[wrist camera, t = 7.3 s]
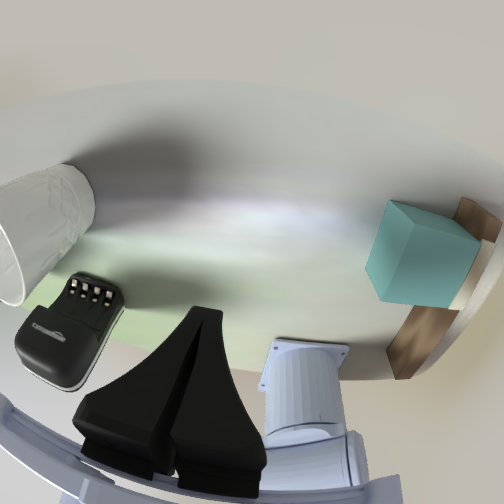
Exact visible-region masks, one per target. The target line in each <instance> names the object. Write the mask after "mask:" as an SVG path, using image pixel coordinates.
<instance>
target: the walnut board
mask: <svg viewBox="0 0 504 504" xmlns="http://www.w3.org/2000/svg"><path fill="white" fill-rule="evenodd" d="M454 221H456V222H457V223H458V224H459V225H460V226H462V227H463V228H464V229H465V230H466V231H468V232H469V233H470V234H471V235H472V236H473V237H475V238H476V239H477V240H478V241H479V242H480V243H481V246H480V248H479V250H478V253H477V255H476V257H475V259H474V261H473V263H472V265H471V267H470V269H469V271H468V273H467V275H466V277H465V279H464V281H463V283H462V285H461V287H460V289H459V290H458V292H457V294H456V296H455V298H454V299H453V301H452V303H451V304H450V306H449V308H440V307H429V306H419V305H414V307H413V309H412V310H411V312H410V314H409V316H408V317H407V319H406V321H405V322H404V324H403V326H402V327H401V329H400V331H399V332H398V334H397V335H396V337H395V339H394V340H393V342H392V343H391V345H390V346H389V348H388V349H387V351H386V353H387V356H388V359H389V362H390V365H391V368H392V371H393V374H394V377H395V380H400V379H410V378H411V377H412V376H413V375H414V374H415V372H416V371H417V370H418V369H419V368H420V366H421V365H422V364H423V363H424V361H425V360H426V359H427V357H428V356H429V355H430V353H431V352H432V351H433V349H434V348H435V347H436V345H437V344H438V343H439V341H440V340H441V338H442V337H443V335H444V334H445V333H446V331H447V330H448V328H449V327H450V325H451V324H452V322H453V321H454V319H455V317H456V316H457V314H458V313H459V311H460V310H463V308H464V306H465V305H466V303H467V301H468V299H469V298H470V296H471V294H472V292H473V291H474V289H475V287H476V285H477V283H478V281H479V280H480V278H481V276H482V274H483V272H484V270H485V268H486V266H487V264H488V262H489V259H490V257H491V255H492V253H493V251H494V248H495V246H496V244H495V241H496V239H497V236H498V234H499V231H500V229H501V226H502V224H503V222H502V221H500V220H499V219H498V218H496V217H495V216H494V215H492V214H491V213H489V212H488V211H486V210H485V209H484V208H482V207H481V206H479V205H478V204H476V203H474V202H472V201H469V200H467V199H465V198H461V201H460V204H459V207H458V210H457V213H456V216H455V218H454Z"/></svg>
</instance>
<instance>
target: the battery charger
mask: <svg viewBox="0 0 504 504" xmlns="http://www.w3.org/2000/svg"><path fill="white" fill-rule="evenodd" d="M124 308H125V304H124V302H123V297H122V294H121V292H120V290H119V289H118V288H117V287H115V286H113V285H111V284H108V283H105V282H102V281H99V280H96V279H93V278H90V277H87V276H84V275H81V274H73V275H72V276H71V277H70V278H69V280H68V281H67V283H66V285H65V287H64V289H63V291H62V293H61V294H60V296H59V297H58V298H57V299H56V300H55V302H54V303H53V304H52V305H51V306H50V307H49V308H45V307H43V306H41V305H38V306H37V307H36V308H35V309H34V310H33V311H32V313H31V314H30V315H29V316H28V318H27V319H26V320H25V322H24V323H23V325H22V326H21V327H20V329H19V330H18V332H17V334H16V336H15V349H16V351H17V353H18V355H19V357H20V358H21V362H22V364H23V365H24V367H25V368H26V369H27V370H28V371H29V372H31V373H32V374H33V375H35V376H36V377H38V378H39V379H41V380H43V381H44V382H46V383H48V384H50V385H52V386H54V387H56V388H58V389H60V390H62V391H65V392H75V391H78V390H79V389H80V388H81V387H82V386H83V385H84V383H85V382H86V380H87V379H88V377H89V375H90V373H91V371H92V370H93V368H94V366H95V364H96V362H97V360H98V358H99V356H100V354H101V352H102V350H103V348H104V346H105V344H106V342H107V340H108V338H109V336H110V334H111V332H112V330H113V328H114V326H115V325H116V323H117V321H118V319H119V318H120V316H121V315H122V313H123V312H124Z"/></svg>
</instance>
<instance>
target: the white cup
mask: <svg viewBox="0 0 504 504" xmlns="http://www.w3.org/2000/svg"><path fill="white" fill-rule="evenodd" d="M95 209H96V206H95V200H94V194H93V190H92V188H91V186H90V184H89V182H88V181H87V179H86V177H85V175H84V174H82V173H81V172H80V171H79V170H78V169H76V168H75V167H74V166H71V165H65V164H59V165H56V166H53V167H50V168H48V169H45V170H42V171H37V172H33V173H30V174H28V175H25V176H23V177H19V178H17V179H14V180H12V181H10V182H8V183H5V184H3V185H1V186H0V300H1V301H2V302H4V303H6V304H7V305H10V306H14V307H17V306H20V305H22V304H23V303H24V301H25V300H26V299H27V298H28V296H29V295H30V294H31V293H32V291H33V290H34V289H35V288H36V287H37V285H38V284H39V283H40V282H41V281H42V280H43V279H44V277H45V276H46V275H47V274H48V273H49V272H50V271H51V270H52V268H53V267H54V266H55V265H56V264H57V263H58V262H59V261H60V260H61V259H62V257H63V256H64V255H65V254H66V253H67V252H68V251H69V250H70V249H71V248H72V246H73V245H74V244H75V242H76V241H77V240H78V239H79V238H80V237H81V236H82V235H83V234H84V233H85V232H86V231H87V229H88V228H89V227H90V226H91V224H92V223H93V219H94V214H95Z"/></svg>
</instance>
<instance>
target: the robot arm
mask: <svg viewBox="0 0 504 504" xmlns="http://www.w3.org/2000/svg"><path fill="white" fill-rule="evenodd" d="M222 319H223V312H222V311H221V310H216V309H210V308H204V307H199V306H193V307H192V308H191V309H190V311H189V312H188V314H187V315H186V316H185V318H184V319H183V320H182V321H181V323H180V324H179V325H178V326H177V327H176V329H175V330H174V331H173V332H172V333H171V334H170V335H169V337H168V338H167V339H166V340H165V341H164V342H163V343H162V344H161V345H160V346H159V347H158V348H157V349H156V350H155V351H154V352H152V353H151V354H150V355H149V356H148V357H147V358H146V359H144V360H143V361H142V362H141V363H139V364H138V365H137V366H135V367H134V368H133V369H131V370H130V371H129V372H127V373H126V374H124V375H122V376H121V377H119V378H118V379H116V380H114V381H113V382H111V383H109V384H108V385H106V386H104V387H102V388H99V389H97V390H95V391H93V392H91V393H89V394H87V395H85V397H84V398H83V400H82V402H81V403H80V405H79V406H78V408H77V411H76V413H75V415H74V417H73V419H72V421H73V425H74V426H75V427H76V428H77V429H78V430H79V432H80V433H81V434H82V435H83V436H84V437H85V441H84V443H83V446H82V445H80V444H78V443H76V442H73V441H72V440H70V439H68V438H66V437H64V436H62V435H60V434H58V433H56V432H55V431H53V430H51V429H49V428H47V427H46V426H44V425H42V424H41V423H39V422H37V421H36V420H34V419H33V418H31V417H29V416H28V415H26V414H25V413H23V412H22V411H20V410H19V409H17V408H16V407H14V405H13V404H12V403H11V402H10V401H9V400H8V399H7V398H6V397H5V396H4V395H3V394H1V393H0V447H2V448H3V449H4V450H5V451H7V452H8V453H9V454H10V455H11V456H13V457H14V458H15V459H16V460H18V461H19V462H20V463H22V464H23V465H24V466H26V467H27V468H29V469H30V470H31V471H33V472H34V473H36V474H37V475H39V476H40V477H42V478H43V479H44V480H46V481H48V482H49V483H51V484H53V485H54V486H56V487H57V488H59V489H61V490H62V491H63V493H62V496H61V500H60V503H59V504H177V503H173V502H169V501H165V500H161V499H158V498H154V497H151V496H147V495H144V494H141V493H137V492H135V491H132V490H129V489H125V488H123V487H120V486H117V485H114V484H115V482H114V480H112V479H110V478H108V477H106V476H105V475H103V474H102V473H100V471H98V470H96V469H94V468H92V467H90V466H88V465H86V464H84V463H82V462H81V461H84V462H86V463H88V464H90V465H93V466H95V467H97V468H99V469H102V470H104V471H106V472H109V473H112V474H114V475H117V476H119V477H122V478H125V479H128V480H131V481H134V482H137V483H140V484H143V485H146V486H150V487H153V488H157V489H160V490H164V491H168V492H172V493H177V494H181V495H186V496H191V497H196V498H202V499H207V500H214V501H222V502H230V503H240V504H403V498H402V490H401V483H400V476H399V475H398V474H396V475H392V476H388V477H383V478H378V479H374V480H371V481H369V473H368V465H367V458H366V452H365V447H364V442H363V438H362V435H361V434H359V433H356V431H355V430H352V431H349V432H348V431H347V429H346V422H345V415H344V408H343V402H342V395H341V389H340V383H339V377H338V371H337V370H338V369H339V367H340V365H341V364H342V362H343V360H344V359H345V357H346V355H347V354H348V352H349V346H347V345H336V344H324V343H312V342H302V341H293V340H284V339H274V340H273V341H272V344H271V347H270V351H269V354H268V357H267V360H266V364H265V367H264V370H263V373H262V376H261V379H260V383H259V386H258V390H259V391H262V392H266V409H265V437H261V435H260V434H259V432H258V431H257V429H256V427H255V426H254V424H253V422H252V421H251V419H250V417H249V415H248V413H247V411H246V410H245V407H244V405H243V403H242V401H241V399H240V397H239V394H238V392H237V390H236V387H235V384H234V382H233V379H232V376H231V373H230V369H229V366H228V362H227V358H226V353H225V348H224V342H223V335H222ZM276 346H277V347H276ZM175 469H176V471H177V473H178V475H179V478H175V477H171V476H172V475H174V473H175Z"/></svg>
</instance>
